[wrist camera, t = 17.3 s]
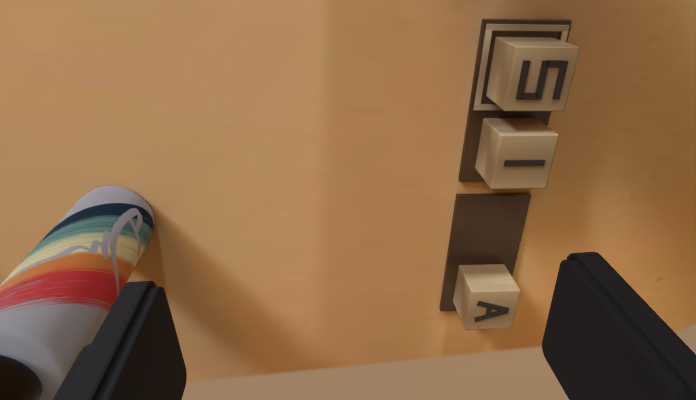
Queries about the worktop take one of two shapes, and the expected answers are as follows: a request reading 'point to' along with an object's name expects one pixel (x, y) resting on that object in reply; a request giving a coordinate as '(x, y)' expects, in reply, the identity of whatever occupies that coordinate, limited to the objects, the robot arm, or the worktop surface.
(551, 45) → the tile
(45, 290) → the lotion bottle
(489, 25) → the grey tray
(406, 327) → the worktop surface
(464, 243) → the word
